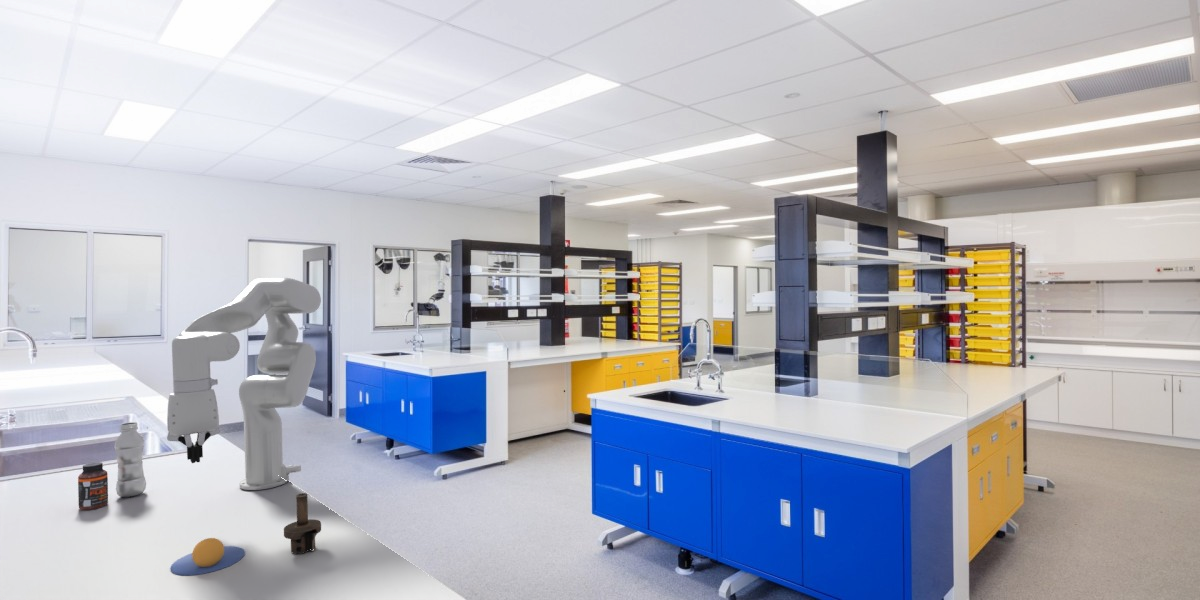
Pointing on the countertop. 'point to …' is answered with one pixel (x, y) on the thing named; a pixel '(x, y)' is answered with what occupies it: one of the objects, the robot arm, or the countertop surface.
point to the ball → (208, 552)
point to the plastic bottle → (130, 461)
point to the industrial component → (302, 528)
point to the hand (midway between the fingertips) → (195, 461)
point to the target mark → (190, 568)
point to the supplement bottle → (93, 486)
